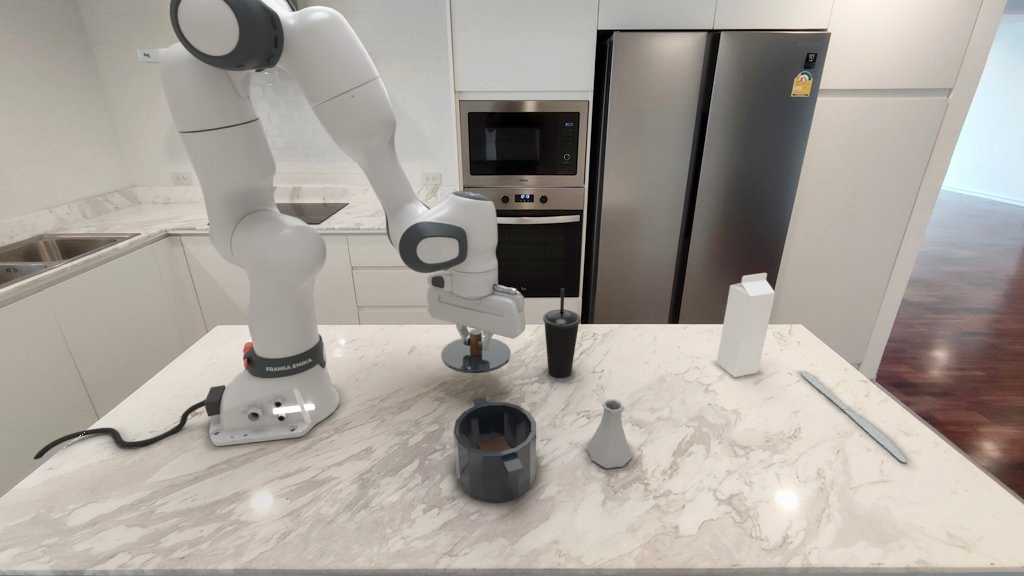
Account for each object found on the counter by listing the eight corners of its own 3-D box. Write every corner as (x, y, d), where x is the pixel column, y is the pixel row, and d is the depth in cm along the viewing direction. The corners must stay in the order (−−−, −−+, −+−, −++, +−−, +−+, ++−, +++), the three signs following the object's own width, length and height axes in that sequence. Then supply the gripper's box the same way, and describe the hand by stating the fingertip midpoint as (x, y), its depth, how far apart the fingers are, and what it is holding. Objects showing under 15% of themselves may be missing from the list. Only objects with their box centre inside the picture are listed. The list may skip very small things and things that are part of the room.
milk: (757, 373, 103) (779, 278, 94) (734, 377, 101) (754, 281, 93) (738, 359, 108) (757, 267, 100) (715, 363, 107) (732, 270, 98)
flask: (605, 475, 76) (609, 424, 72) (578, 447, 82) (581, 399, 78) (640, 460, 79) (646, 410, 76) (612, 434, 85) (616, 387, 81)
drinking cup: (576, 386, 99) (580, 297, 92) (539, 382, 101) (540, 295, 93) (579, 366, 106) (583, 283, 98) (544, 363, 108) (546, 280, 100)
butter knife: (812, 370, 103) (798, 370, 102) (916, 462, 78) (898, 462, 78) (811, 372, 103) (797, 372, 103) (914, 464, 78) (897, 464, 78)
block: (486, 483, 74) (485, 461, 73) (478, 464, 78) (477, 442, 77) (513, 475, 76) (512, 453, 74) (503, 457, 80) (503, 435, 78)
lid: (493, 382, 86) (493, 355, 84) (428, 367, 91) (426, 340, 89) (520, 349, 98) (521, 323, 96) (461, 337, 103) (460, 312, 101)
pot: (474, 527, 67) (472, 478, 64) (445, 445, 83) (441, 402, 80) (556, 501, 72) (557, 454, 68) (513, 428, 87) (512, 386, 84)
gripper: (532, 284, 86) (530, 352, 92) (440, 266, 96) (443, 328, 101) (515, 296, 81) (514, 367, 86) (420, 275, 90) (424, 341, 96)
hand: (475, 346), depth 94 cm, fingers closed on lid, 2 cm apart
